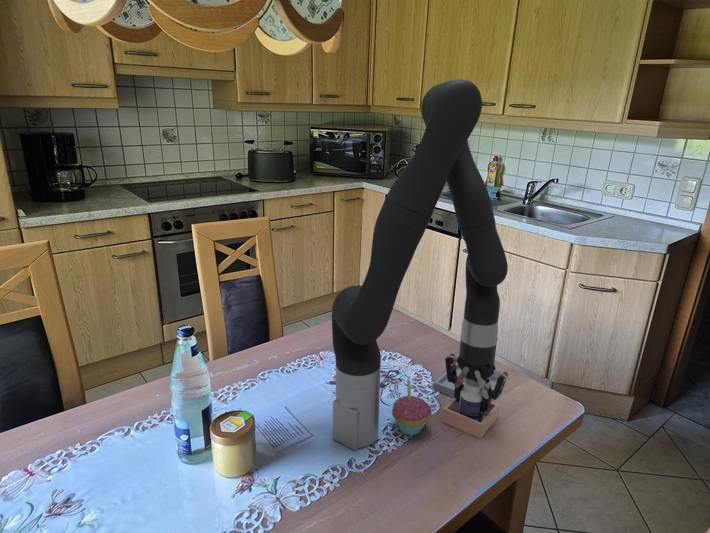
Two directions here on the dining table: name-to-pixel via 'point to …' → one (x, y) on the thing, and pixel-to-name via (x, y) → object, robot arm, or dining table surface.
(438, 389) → the tray
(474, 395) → the pill bottle
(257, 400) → the dining table surface
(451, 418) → the holder
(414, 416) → the cupcake
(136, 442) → the dining table surface
